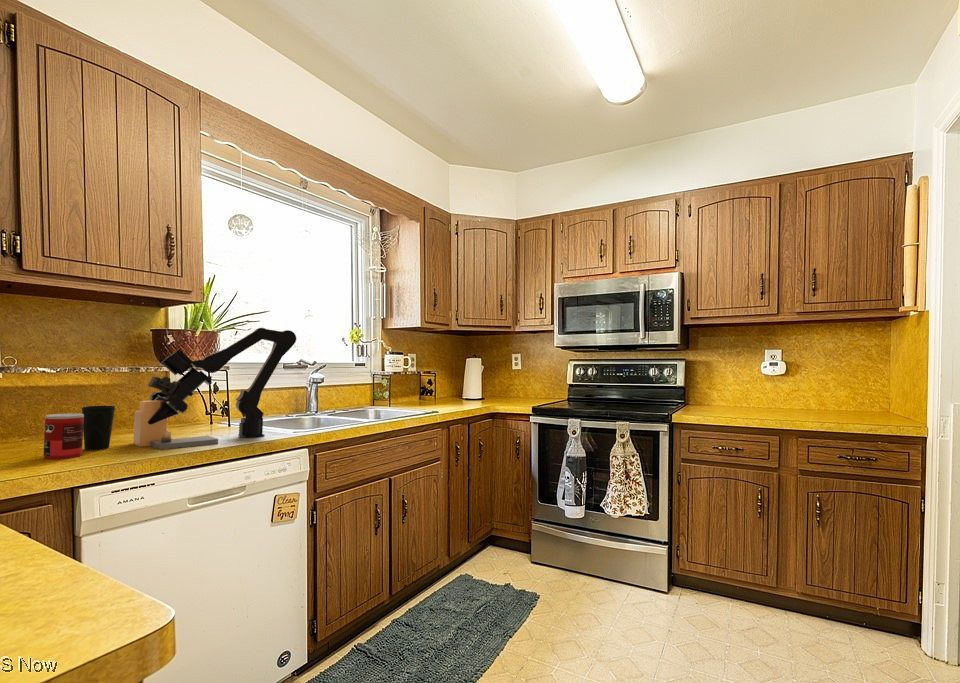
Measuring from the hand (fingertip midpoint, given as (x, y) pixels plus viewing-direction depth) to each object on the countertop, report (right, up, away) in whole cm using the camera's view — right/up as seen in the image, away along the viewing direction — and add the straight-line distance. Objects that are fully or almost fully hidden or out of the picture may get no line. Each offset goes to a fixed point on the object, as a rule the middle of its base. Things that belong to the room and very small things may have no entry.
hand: (145, 422), depth 153 cm
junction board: (+12, -7, 0) cm, 14 cm away
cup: (-8, -6, -8) cm, 13 cm away
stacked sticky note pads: (+1, -7, +1) cm, 7 cm away
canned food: (-8, -6, -21) cm, 23 cm away
